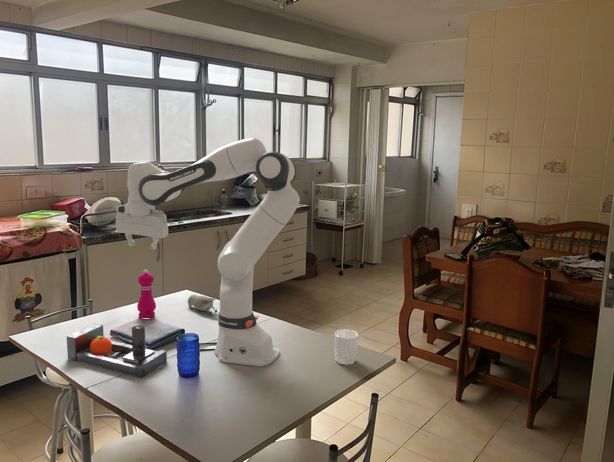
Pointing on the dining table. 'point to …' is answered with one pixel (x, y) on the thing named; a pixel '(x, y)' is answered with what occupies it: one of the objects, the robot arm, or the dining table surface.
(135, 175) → the robot arm
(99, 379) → the dining table surface
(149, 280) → the pepper mill
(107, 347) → the clementine
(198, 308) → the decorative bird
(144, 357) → the ram
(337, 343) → the white cup
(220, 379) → the dining table surface
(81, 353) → the press
